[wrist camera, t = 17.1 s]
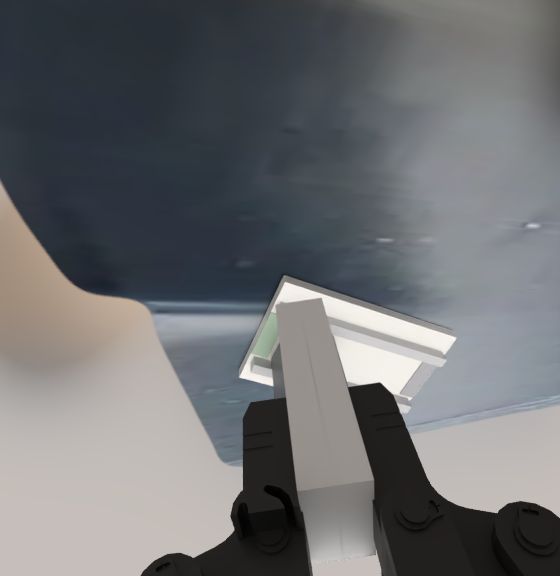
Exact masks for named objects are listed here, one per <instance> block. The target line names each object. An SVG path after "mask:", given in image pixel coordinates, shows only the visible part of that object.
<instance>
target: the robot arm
mask: <svg viewBox="0 0 560 576" xmlns="http://www.w3.org/2000/svg"><path fill="white" fill-rule="evenodd" d="M275 306H276V315H277V324H278V332H279V341H280V349H281V358H282V366H283V375H284V384H285V392H286V397H284V398H278V399H271V400H264V401H257V402H251V403H250V405H249V407H248V409H247V411H246V413H245V415H244V417H243V491H241V492H240V494H239V495H238V497H237V498H236V500H235V501H234V503H233V507H232V511H231V519H232V522H233V526H234V529H235V530H234V532H233V533H232V534H231V535H230V536H229V537H228V538H227V539H226V540H225V541H224V542H222V543H221V544H219V545H218V546H216V547H214V548H213V549H210V550H208V551H206V552H204V553H203V554H201V555H199V556H197V557H195V558H192V557H191V556H188V555H185V554H182V553H175V554H167V555H165V556H163V557H161V558H159V559H157V560H155V561H154V562H153V563H151V564H150V565H149V566H148V567H147V569H145V570H144V571H143V573H142V574H141V576H313V574H312V566H311V564H316V563H323V562H330V561H337V560H344V559H351V558H358V557H365V556H371V555H376V550H377V554H378V557H379V562H380V566H381V569H382V570H381V572H382V573H381V574H382V576H560V518H559V517H558V516H556V515H555V514H554V513H553V512H552V511H550V510H548V509H546V508H544V507H541V506H539V505H537V504H535V503H528V502H522V501H519V502H514V503H509V504H507V505H506V506H504V507H503V508H502V509H500V510H499V512H498V513H492V512H486V511H480V510H474V509H469V508H465V507H461V506H458V505H456V504H454V503H452V502H450V501H448V500H446V499H445V498H443V497H442V496H441V495H440V494H438V493H437V491H436V490H435V489H434V488H433V487H432V486H431V484H430V482H429V481H428V479H427V476H426V474H425V472H424V469H423V467H422V464H421V462H420V459H419V457H418V454H417V452H416V449H415V447H414V444H413V442H412V439H411V437H410V435H409V432H408V430H407V428H406V425H405V422H404V420H403V417H402V415H401V414H400V410H399V407H398V405H397V402H396V400H395V398H394V395H393V394H392V393H391V392H390V391H389V390H388V389H387V388H386V387H385V386H384V385H383V384H381V383H380V382H378V383H372V384H365V385H358V386H351V387H347V384H346V381H345V377H344V374H343V370H342V367H341V363H340V360H339V356H338V353H337V349H336V346H335V343H334V339H333V336H332V332H331V329H330V325H329V322H328V318H327V315H326V311H325V308H324V304H323V301H322V298H316V299H309V300H302V301H296V302H289V303H282V304H275Z"/></svg>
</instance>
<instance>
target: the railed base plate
mask: <svg viewBox="0 0 560 576" xmlns="http://www.w3.org/2000/svg"><path fill="white" fill-rule="evenodd" d="M316 298H322V301H323V304H324V308H325V311H326V315H327V318H328V322H329V325H330V329H331V332H332V335H333V336H334V339H335V343H336V346H337V350H338V353H339V356H340V360H341V363H342V367H343V370H344V374H345V377H346V380H347V384H348V387H351V386H358V385H365V384H372V383H378V382H380V383H381V384H383V385H384V386H385V387H386V388H387V389H388V390H389V391H390V392H391V393H392V394H393V395H394V398H395V400H396V402H397V405H398V407H399V410H400V413H401V412H403V413H407V412H408V411H409V410H410V408H411V404H410V402H409V401H410V400H411V398H414V396H415V395H416V394H417V392H418V391H419V390H420V388H421V387H422V386H423V384H424V383H425V382H426V380H427V379H428V378H429V376H430V375H431V374H432V372H433V371H434V370H435V368H436V367H437V366H438V367H442V366H443V365H444V364H445V362H446V361H447V359H446V357H445V353H446V352H447V351H448V349H449V348H450V347H451V345H452V344H453V343H454V341H455V340H456V339H457V337H456V336H455V334H454V333H453V331H452V330H450V329H447V328H444V327H441V326H438V325H435V324H432V323H428V322H425V321H422V320H419V319H416V318H413V317H410V316H407V315H404V314H401V313H398V312H395V311H392V310H389V309H386V308H383V307H380V306H377V305H374V304H371V303H368V302H365V301H362V300H359V299H356V298H353V297H350V296H347V295H343V294H340V293H337V292H334V291H331V290H328V289H325V288H322V287H319V286H316V285H313V284H310V283H307V282H304V281H301V280H298V279H295V278H292V277H289V276H286V275H284V276H283V278H282V280H281V282H280V284H279V286H278V288H277V291H276V293H275V295H274V297H273V299H272V301H271V303H270V305H269V307H268V309H267V312H266V314H265V316H264V318H263V320H262V322H261V324H260V326H259V328H258V331H257V333H256V335H255V337H254V339H253V341H252V343H251V345H250V347H249V350H248V352H247V354H246V356H245V358H244V360H243V362H242V364H241V366H240V368H239V377H240V378H244V379H248V380H251V381H255V382H259V383H263V384H267V385H271V386H273V375H272V363H271V358H272V356H273V354H274V353H275V351H276V349H277V347H278V345H279V343H280V341H279V332H278V324H277V315H276V306H275V304H282V303H289V302H296V301H302V300H309V299H316Z"/></svg>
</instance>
